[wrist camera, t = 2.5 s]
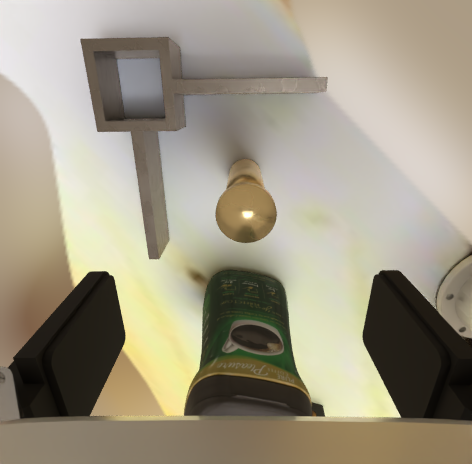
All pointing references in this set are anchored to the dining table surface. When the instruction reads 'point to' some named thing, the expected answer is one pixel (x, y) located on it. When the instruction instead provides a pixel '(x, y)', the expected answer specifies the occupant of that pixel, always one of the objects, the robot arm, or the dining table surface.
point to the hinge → (174, 88)
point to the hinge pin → (245, 204)
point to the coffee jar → (246, 352)
